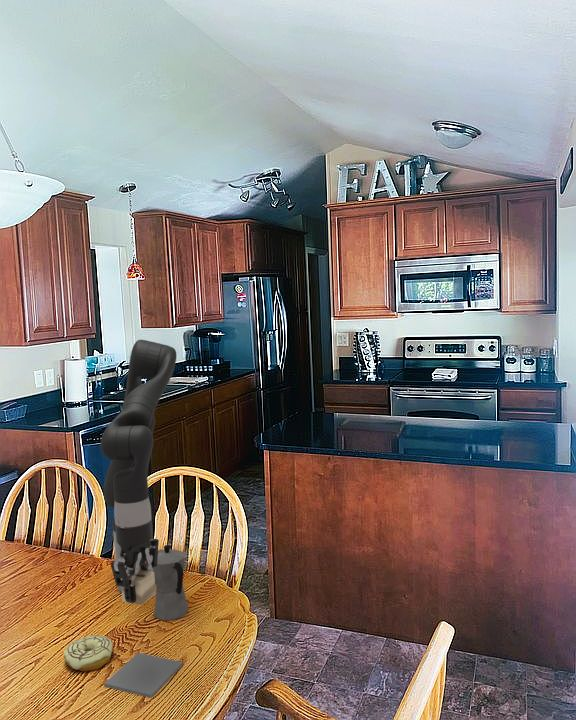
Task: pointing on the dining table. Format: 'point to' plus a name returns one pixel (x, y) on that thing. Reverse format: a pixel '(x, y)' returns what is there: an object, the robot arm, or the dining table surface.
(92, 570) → the dining table surface
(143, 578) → the letter block
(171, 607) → the coffeepot
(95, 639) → the decorated donut
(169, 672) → the slate coaster
